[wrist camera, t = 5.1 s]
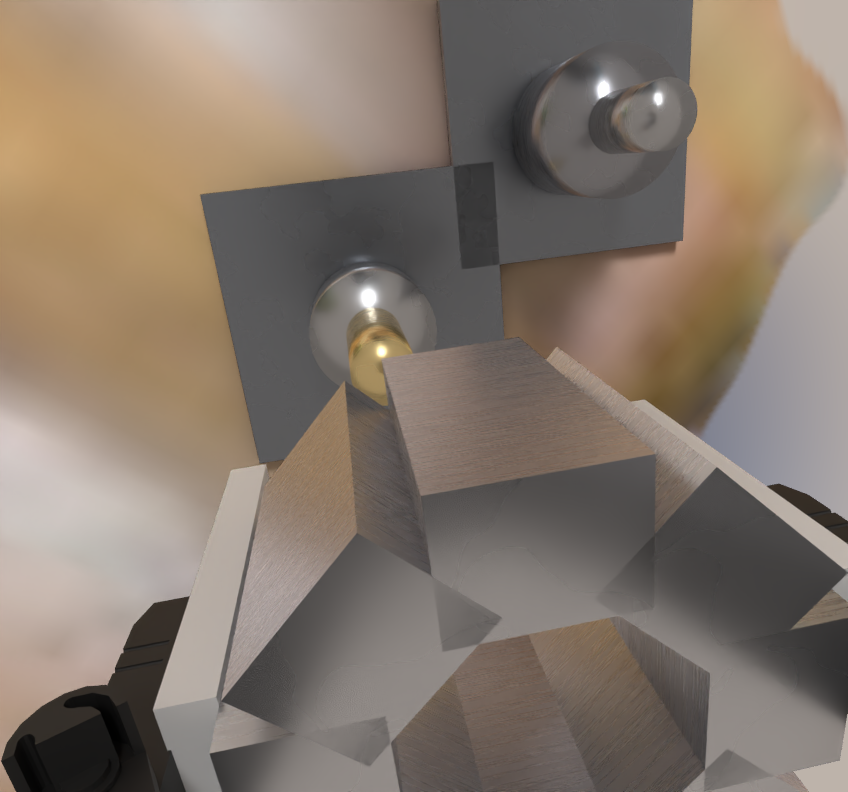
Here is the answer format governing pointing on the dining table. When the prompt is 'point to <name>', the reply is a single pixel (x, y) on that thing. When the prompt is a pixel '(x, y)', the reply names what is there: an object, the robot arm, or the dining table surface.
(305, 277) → the hub
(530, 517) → the ring
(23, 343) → the dining table surface
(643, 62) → the stand
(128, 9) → the dining table surface
